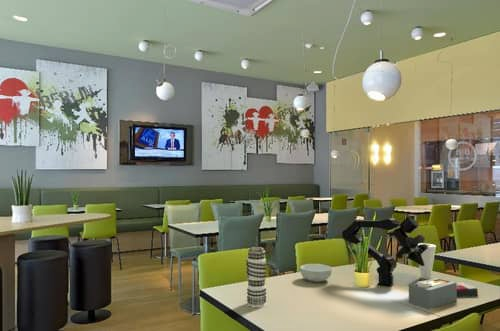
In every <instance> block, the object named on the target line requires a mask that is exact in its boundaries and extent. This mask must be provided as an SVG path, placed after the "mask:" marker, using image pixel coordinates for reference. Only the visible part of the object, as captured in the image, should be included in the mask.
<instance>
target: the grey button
mask: <svg viewBox="0 0 500 331" xmlns="http://www.w3.org/2000/svg"><path fill="white" fill-rule="evenodd" d="M416 283H417V287H421V288H425V289H426V288H430V283H429V282H425V280H420V281H419V280H418V281H417V282H416Z"/></svg>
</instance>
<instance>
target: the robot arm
mask: <svg viewBox="0 0 500 331" xmlns="http://www.w3.org/2000/svg"><path fill="white" fill-rule="evenodd" d="M419 226H420V224H419V223H418V222H417V221H416V220H415V219H413V218H412V217H411V216H407V217H405V219H403V221H398V220H397V219H396V218H394V217H393V218H385V219H381V220H380V219H379V220H378V219H367V220H366V219H363V220H362V219H355V220H354V221H352V223H351V224H350V225H348V226H347V227H346V229H344V230H342V232H341V235H342V236H341V237H342V239H343V240H345V241H347V242H348V243H350V244H354V245H356V244H357V243H359V242H361V240H362V239H363V238H362V237H361V236H360V234H359V232H360V230H361V228H376V229H382V230H385V231H390V232H389V235H388V237H389V238H395V240H396V241H397V242H398V246H399V247H401V248H400V249H399V250H398V251H396V254H395V256H396V257H397V258H398V259H399V260H400V259H403V258H404V255H407V256H406V259H408V260H411V261H413V262H415V263H416V264H418V266H419V265H421V266H424V265H425V264H424V262H423V259H422V256H421V254H422V253H423V252H424V251H425V250H427V249H428V246H427V245H426V244H427V243H425V239H426V238H425V237H424V235H423V234H418V235H416V236H414V237H412V236H409V235H408V234H411V233H412V232H414V231H415V230H416V229H417V228H418V227H419ZM419 243H424V244H420V245H419V246H418V244H419ZM368 244H369V250H368V255H369V256H370V257H371V258H372V259H374V260H375V261H376V262H377V263H376V264H378V267H377V268H376V273H377V274H378V282H377V285H379V286H385V287H392V286H393V285H394V275H393V272H394V269H397V265H398V264H397V261H396V259H395V257H393V256H392V255H391V254H389V253H388V252H387V253H381V251H379V250H378V249H376V248H375V247H373V245H371V244H370V243H368ZM416 246H418V247H417V248H416Z"/></svg>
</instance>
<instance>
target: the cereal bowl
mask: <svg viewBox="0 0 500 331" xmlns="http://www.w3.org/2000/svg"><path fill="white" fill-rule="evenodd" d="M299 271H300V274H301V276H302V278H304V279H305V280H308V281H309V280H310V281H309V282H312V281H313V282H312V283H322V282H323V281H327V280H328V279H329V278H330V277H331V275H332V272H333V269H332V267H331V266H329V265H326V264H323V263H322V264H321V263H306V264H302V265H301V266H300V267H299ZM321 281H322V282H321Z"/></svg>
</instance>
